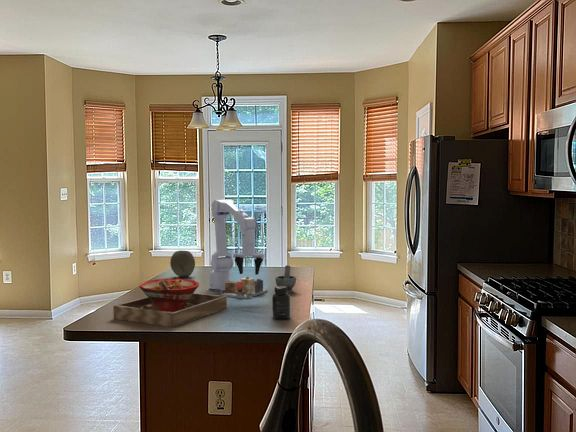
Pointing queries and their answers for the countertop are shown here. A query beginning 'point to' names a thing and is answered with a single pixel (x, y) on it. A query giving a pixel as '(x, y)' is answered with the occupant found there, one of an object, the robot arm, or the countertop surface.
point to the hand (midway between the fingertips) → (249, 274)
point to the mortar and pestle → (286, 279)
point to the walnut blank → (230, 286)
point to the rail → (247, 296)
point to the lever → (239, 288)
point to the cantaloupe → (182, 263)
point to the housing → (248, 284)
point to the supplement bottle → (281, 303)
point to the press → (257, 288)
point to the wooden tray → (202, 307)
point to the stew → (168, 294)
